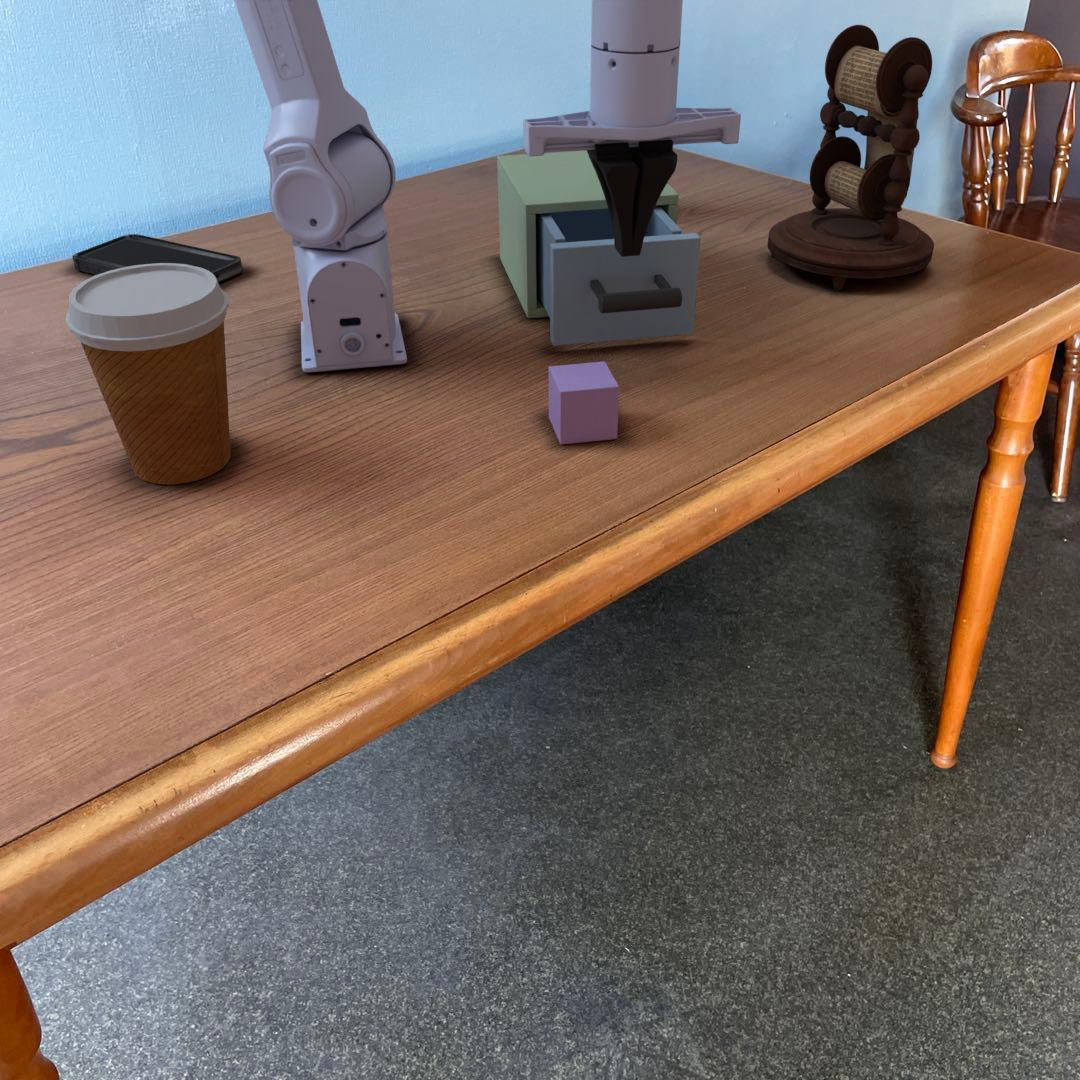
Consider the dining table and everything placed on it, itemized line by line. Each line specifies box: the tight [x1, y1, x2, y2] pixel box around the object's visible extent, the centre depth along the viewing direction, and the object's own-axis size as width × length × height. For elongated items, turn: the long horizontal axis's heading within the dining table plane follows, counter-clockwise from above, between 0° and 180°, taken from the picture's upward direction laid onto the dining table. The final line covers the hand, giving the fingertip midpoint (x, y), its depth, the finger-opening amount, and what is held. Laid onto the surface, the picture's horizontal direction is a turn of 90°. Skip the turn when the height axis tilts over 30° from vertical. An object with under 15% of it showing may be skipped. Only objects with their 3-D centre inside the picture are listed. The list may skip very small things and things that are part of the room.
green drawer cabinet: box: [496, 150, 680, 319], centre depth 96 cm, size 15×13×10 cm
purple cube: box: [548, 361, 620, 445], centre depth 74 cm, size 4×4×4 cm
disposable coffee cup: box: [64, 263, 232, 485], centre depth 69 cm, size 10×10×12 cm
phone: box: [71, 233, 244, 284], centre depth 101 cm, size 8×1×15 cm
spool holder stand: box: [767, 24, 935, 291], centre depth 96 cm, size 15×15×20 cm
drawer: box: [536, 205, 701, 347], centre depth 87 cm, size 18×11×8 cm, turn 11°
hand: (627, 251), depth 78 cm, fingers closed
